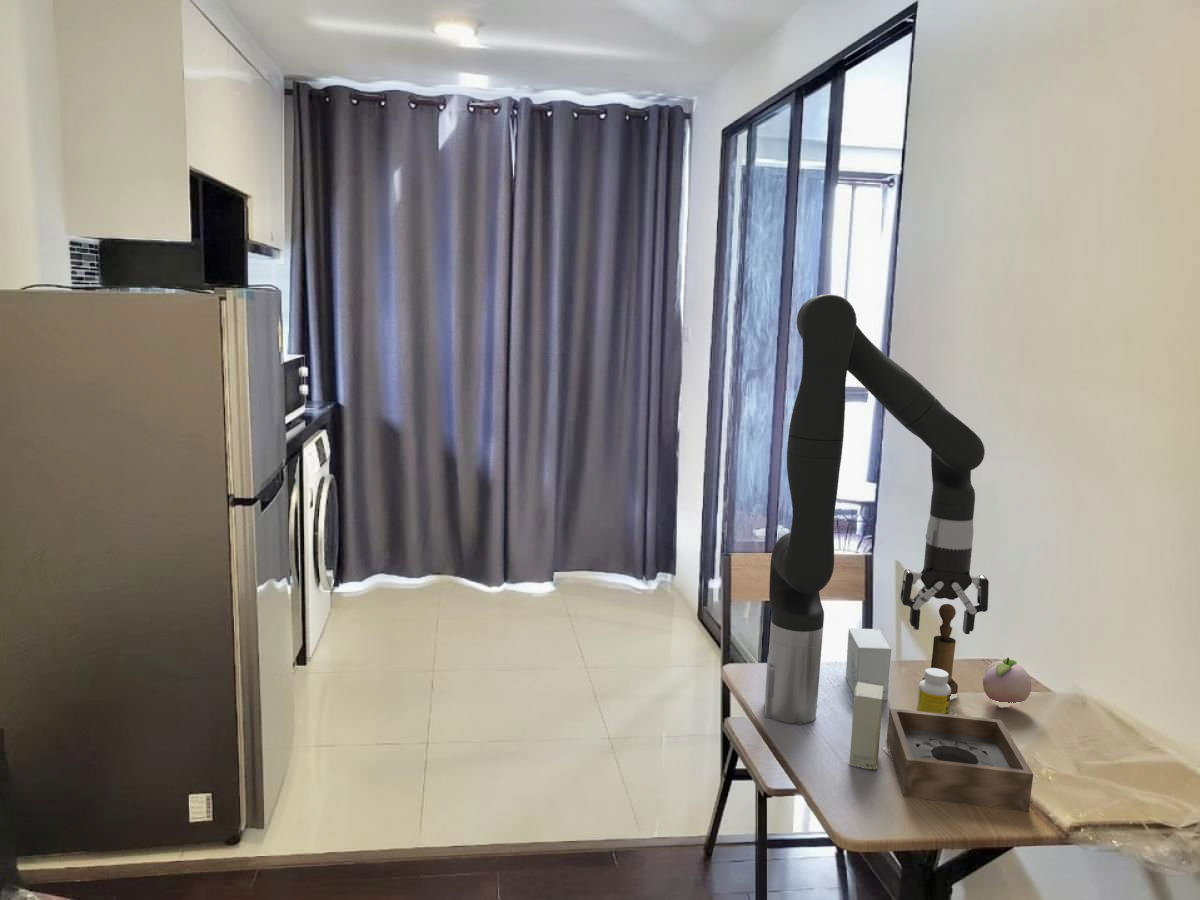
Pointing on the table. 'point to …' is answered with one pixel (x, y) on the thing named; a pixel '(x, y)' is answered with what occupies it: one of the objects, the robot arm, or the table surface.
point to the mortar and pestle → (945, 646)
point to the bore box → (958, 760)
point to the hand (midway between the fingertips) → (940, 630)
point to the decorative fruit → (1007, 682)
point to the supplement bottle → (934, 692)
